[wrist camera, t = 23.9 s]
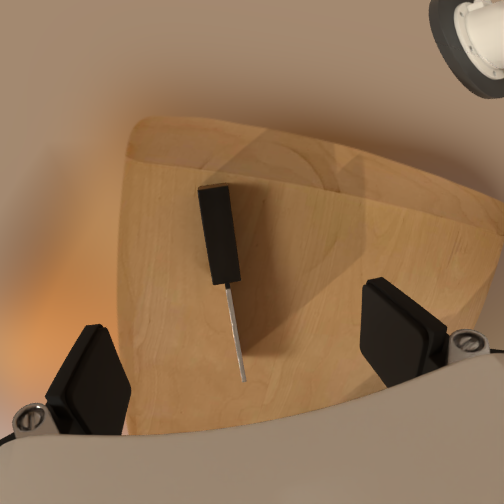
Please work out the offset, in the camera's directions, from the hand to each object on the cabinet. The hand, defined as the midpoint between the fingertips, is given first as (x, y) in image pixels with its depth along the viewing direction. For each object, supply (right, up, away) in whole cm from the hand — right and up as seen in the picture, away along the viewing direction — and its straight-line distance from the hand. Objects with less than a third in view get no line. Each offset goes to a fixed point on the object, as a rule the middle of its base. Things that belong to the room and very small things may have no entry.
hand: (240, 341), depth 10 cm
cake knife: (-2, 0, +19) cm, 19 cm away
